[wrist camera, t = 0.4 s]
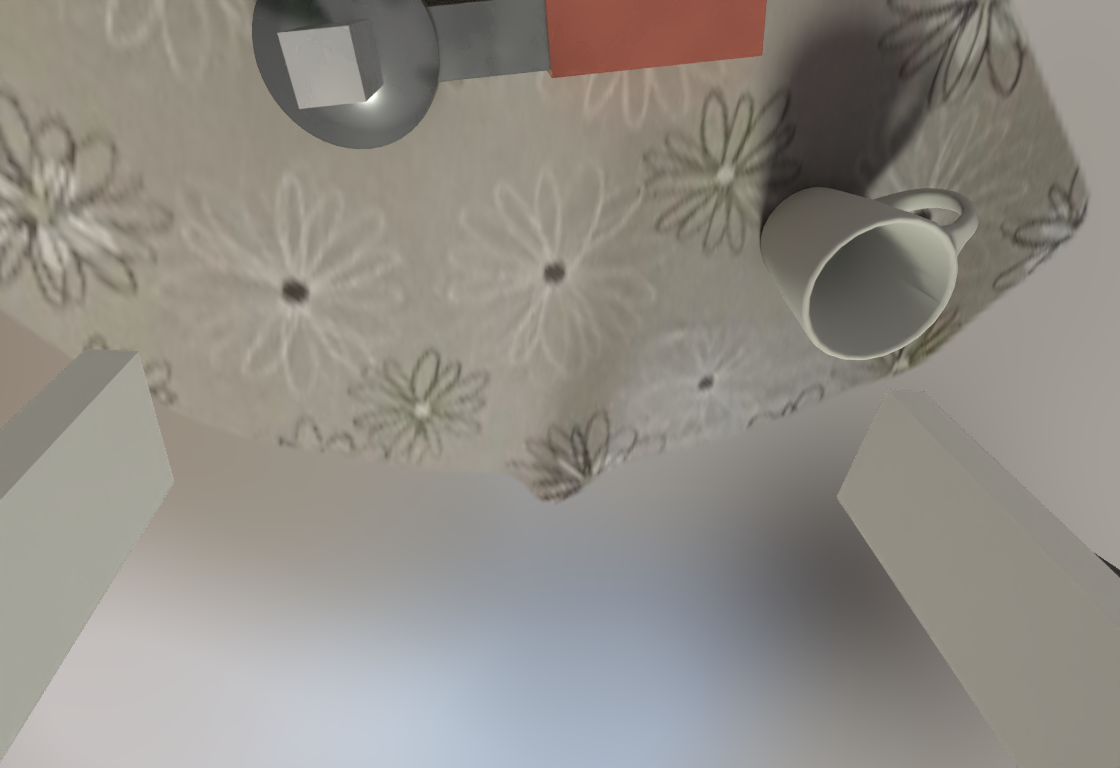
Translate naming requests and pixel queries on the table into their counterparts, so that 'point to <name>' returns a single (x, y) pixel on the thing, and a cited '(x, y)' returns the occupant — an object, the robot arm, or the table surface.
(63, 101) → the table surface
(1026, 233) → the table surface
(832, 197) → the cup
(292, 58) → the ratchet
